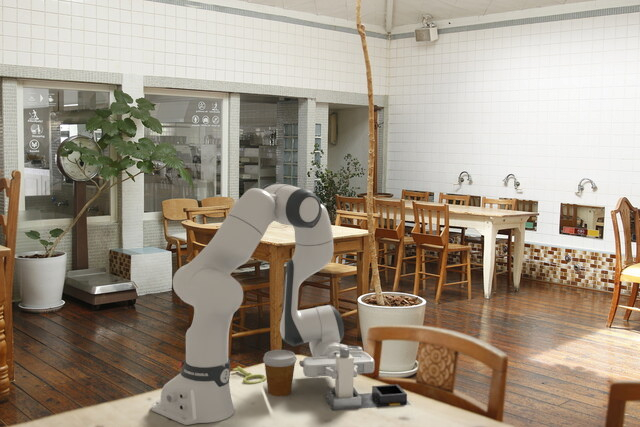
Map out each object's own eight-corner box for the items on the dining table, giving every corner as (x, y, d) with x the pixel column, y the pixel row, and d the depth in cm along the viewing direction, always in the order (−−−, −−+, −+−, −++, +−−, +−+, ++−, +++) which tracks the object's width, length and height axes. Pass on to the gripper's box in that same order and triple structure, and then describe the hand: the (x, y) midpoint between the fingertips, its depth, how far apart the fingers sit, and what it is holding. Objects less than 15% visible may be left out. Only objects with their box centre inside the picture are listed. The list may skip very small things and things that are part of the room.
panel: (332, 414, 184) (332, 401, 184) (323, 400, 194) (323, 388, 193) (410, 407, 189) (410, 395, 189) (398, 394, 199) (398, 382, 198)
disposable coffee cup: (264, 388, 202) (264, 348, 200) (297, 389, 201) (297, 349, 200) (260, 401, 192) (260, 359, 191) (294, 402, 192) (295, 360, 190)
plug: (338, 405, 187) (339, 351, 186) (335, 400, 191) (335, 347, 189) (352, 404, 188) (353, 350, 186) (349, 398, 192) (349, 346, 190)
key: (238, 371, 217) (238, 365, 216) (268, 380, 210) (269, 373, 209) (222, 378, 211) (222, 371, 210) (253, 387, 204) (253, 380, 204)
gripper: (297, 350, 199) (307, 366, 185) (366, 346, 203) (380, 361, 190) (297, 371, 199) (307, 388, 186) (365, 367, 204) (380, 383, 191)
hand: (345, 375), depth 188 cm, fingers closed on plug, 4 cm apart
